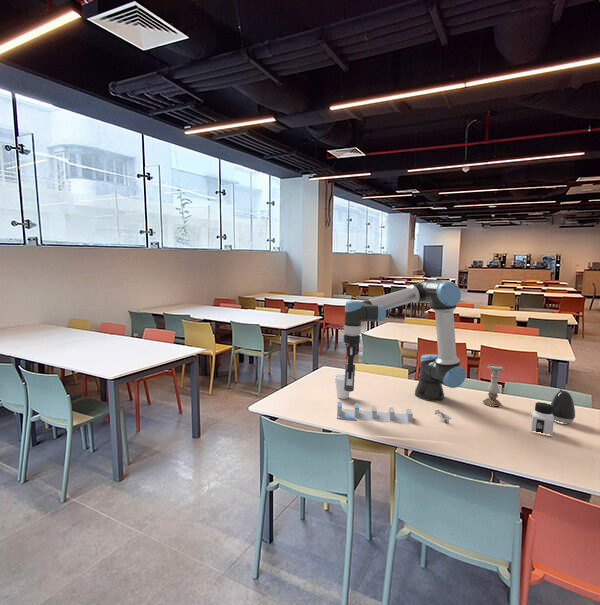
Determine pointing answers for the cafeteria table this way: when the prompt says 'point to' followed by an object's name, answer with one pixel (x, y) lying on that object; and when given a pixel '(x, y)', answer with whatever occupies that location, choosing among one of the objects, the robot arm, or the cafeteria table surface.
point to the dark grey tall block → (346, 387)
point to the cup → (341, 387)
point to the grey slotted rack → (374, 415)
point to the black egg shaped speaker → (563, 407)
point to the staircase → (443, 416)
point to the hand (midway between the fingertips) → (349, 383)
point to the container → (542, 418)
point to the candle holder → (493, 386)
